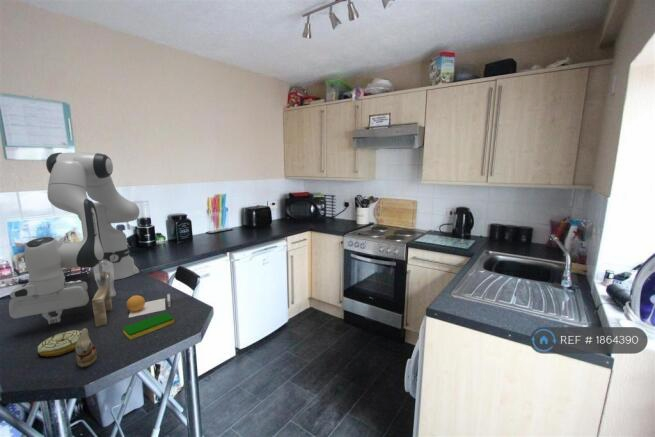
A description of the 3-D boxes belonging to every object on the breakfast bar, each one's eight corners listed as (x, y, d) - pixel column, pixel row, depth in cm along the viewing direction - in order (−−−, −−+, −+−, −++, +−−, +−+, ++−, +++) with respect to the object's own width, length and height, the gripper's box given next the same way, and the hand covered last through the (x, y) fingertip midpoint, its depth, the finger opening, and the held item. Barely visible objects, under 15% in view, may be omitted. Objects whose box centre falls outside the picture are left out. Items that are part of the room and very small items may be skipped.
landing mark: (131, 305, 120) (131, 305, 120) (165, 298, 125) (165, 298, 125) (128, 317, 109) (128, 317, 109) (165, 310, 115) (165, 309, 115)
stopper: (167, 300, 124) (167, 294, 124) (170, 299, 125) (169, 293, 124) (168, 307, 117) (167, 301, 117) (171, 306, 118) (170, 300, 117)
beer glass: (106, 299, 125) (101, 266, 123) (93, 298, 127) (88, 265, 124) (121, 293, 132) (116, 261, 130) (108, 292, 134) (103, 260, 131)
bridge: (95, 326, 103) (91, 300, 102) (103, 309, 116) (99, 286, 115) (106, 324, 105) (102, 298, 103) (112, 307, 118) (109, 284, 116)
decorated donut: (50, 343, 94) (48, 332, 94) (90, 336, 98) (89, 325, 97) (31, 362, 85) (29, 350, 84) (77, 353, 88) (75, 342, 88)
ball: (132, 290, 116) (148, 295, 119) (124, 304, 116) (141, 308, 119) (130, 297, 110) (147, 302, 113) (122, 311, 110) (139, 316, 113)
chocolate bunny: (67, 370, 80) (61, 336, 79) (85, 353, 88) (79, 322, 86) (90, 367, 81) (84, 334, 80) (105, 351, 89) (101, 320, 87)
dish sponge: (123, 333, 99) (122, 327, 99) (166, 318, 110) (165, 311, 109) (130, 341, 95) (129, 334, 94) (174, 324, 105) (174, 317, 105)
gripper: (88, 276, 109) (93, 311, 111) (11, 288, 99) (19, 326, 101) (84, 281, 104) (90, 318, 106) (2, 294, 94) (11, 334, 96)
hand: (54, 322), depth 104 cm, fingers closed
